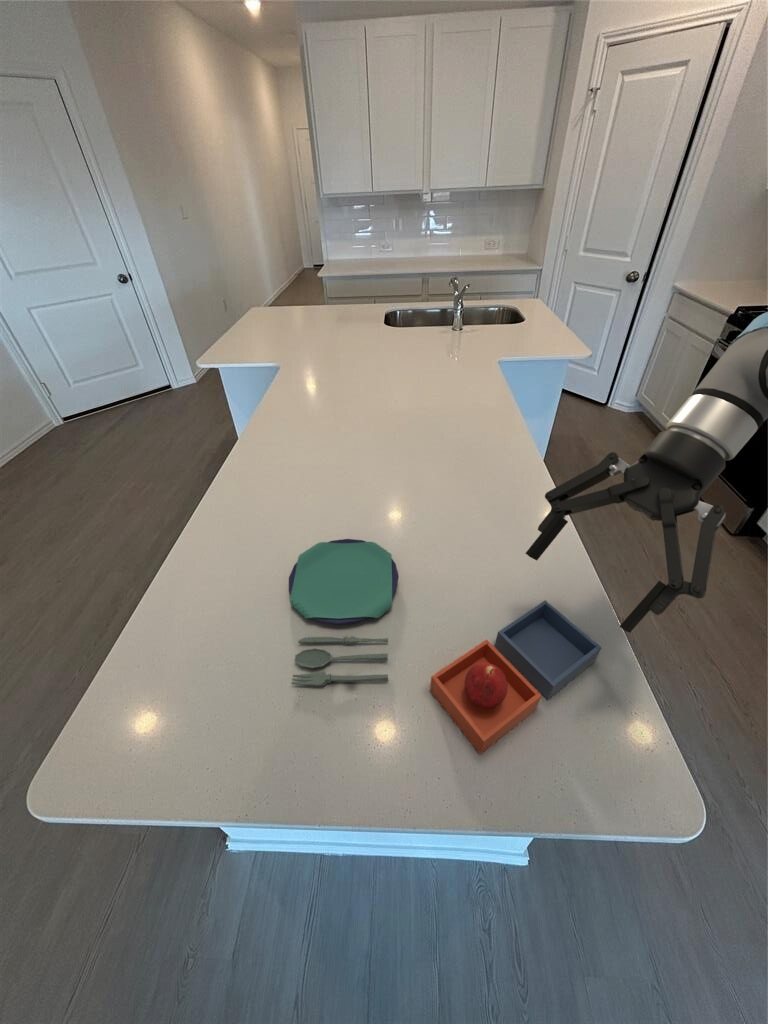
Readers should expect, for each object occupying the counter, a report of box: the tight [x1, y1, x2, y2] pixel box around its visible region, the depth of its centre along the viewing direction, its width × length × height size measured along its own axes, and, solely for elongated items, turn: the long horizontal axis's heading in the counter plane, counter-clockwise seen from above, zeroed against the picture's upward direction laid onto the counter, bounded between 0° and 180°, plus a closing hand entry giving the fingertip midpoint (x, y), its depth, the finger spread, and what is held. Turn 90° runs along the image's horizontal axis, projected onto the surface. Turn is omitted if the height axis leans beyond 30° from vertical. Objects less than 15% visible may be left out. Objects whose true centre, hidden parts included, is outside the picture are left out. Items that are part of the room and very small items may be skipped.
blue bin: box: [494, 600, 603, 701], centre depth 67 cm, size 11×11×4 cm
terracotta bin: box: [429, 639, 543, 755], centre depth 62 cm, size 11×11×4 cm
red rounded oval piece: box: [464, 663, 508, 709], centre depth 61 cm, size 6×6×8 cm
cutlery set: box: [288, 538, 399, 687], centre depth 76 cm, size 20×30×2 cm, turn 0°
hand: (573, 590), depth 53 cm, fingers open, 13 cm apart
